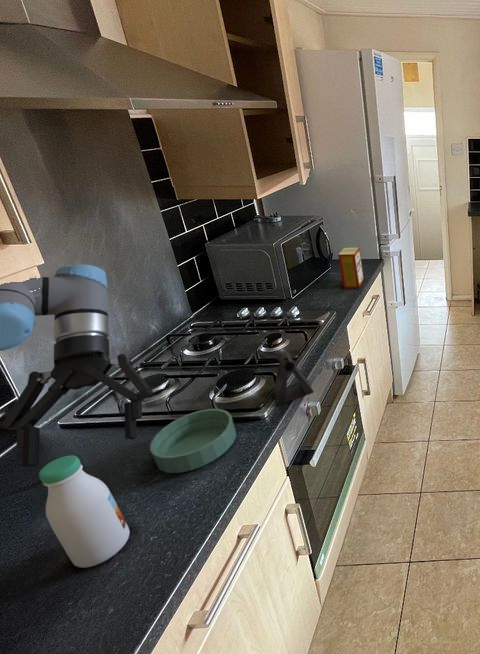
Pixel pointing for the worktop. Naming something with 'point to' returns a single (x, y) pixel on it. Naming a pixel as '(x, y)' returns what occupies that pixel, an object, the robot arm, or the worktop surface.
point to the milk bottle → (82, 513)
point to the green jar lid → (193, 440)
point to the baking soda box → (351, 267)
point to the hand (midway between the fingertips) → (82, 451)
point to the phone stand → (280, 389)
